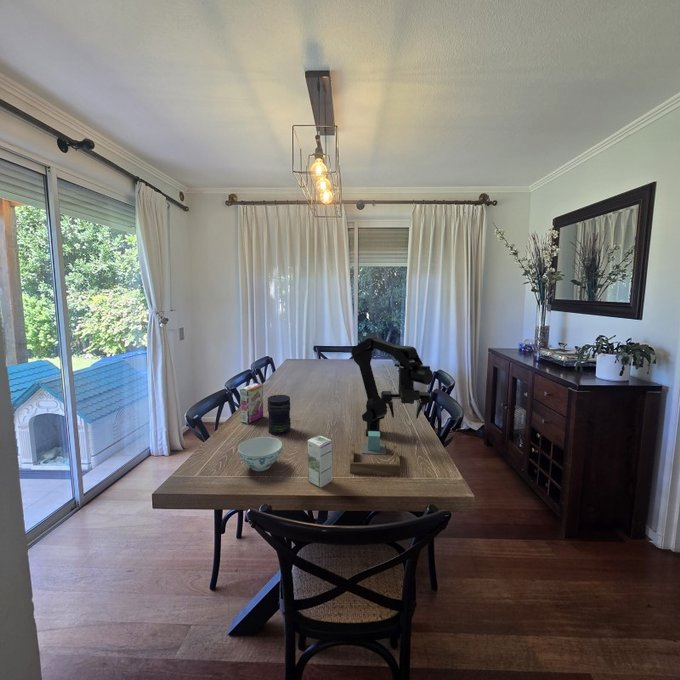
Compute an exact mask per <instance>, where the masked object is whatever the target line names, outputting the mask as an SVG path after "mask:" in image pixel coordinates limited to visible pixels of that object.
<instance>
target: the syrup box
mask: <svg viewBox="0 0 680 680" xmlns="http://www.w3.org/2000/svg"><path fill="white" fill-rule="evenodd" d="M332 441H333V440H332V439H330V438H327V437H325V436H322V435H319V434H318V435H316V436H314V437H313V436H312V437H311V438H310V439H307V473H308V474H307V475H308V476H307V480H308V481H307V482H308V483H311V484H313V485H314V486H316V487H318V488H320V489H321V488H323V487H325V486H327V485H328V484H330V483H331V482H332V481H333V475H332V474H333V471H332V469H333V468H332V466H333V465H332V461H333V459H332V458H333V457H332V452H333V451H332V449H333V448H332Z"/></svg>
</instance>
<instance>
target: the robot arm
mask: <svg viewBox="0 0 680 680" xmlns="http://www.w3.org/2000/svg"><path fill="white" fill-rule="evenodd" d="M375 350H376V351H377V350H378V351H380V352H382V353H385V354H387V355H391V356H392V357H393V359H394V360H396V361H397V362H396V363H395V364H394V367H397V368H398V387H397V388H398V392H397V393H392V391H391V390H382V391H381V393H380V395H379V391H378V388H377V384H376V380H375V376H374V373H373V369H372V365H371V362H372V357H373V355H372V352H374V351H375ZM350 353H351V356H352V359H353V361H354V363H355V364H356V365H358V367H359V370H360V371H359V372H360V375H361V379H362V382H363V385H364V386H363V387H364V390H365V393H366V398H367V400H366V404H365V408H366V410H365V412H364V413H363V414H361V418H362V421H364V422H366V428H365V436H366V437H368V431H379V432H380V437H381V436H382V431H381V420H384V419H385V417H386V415H387V413H388V408H389V410H390V413H391V417H392V419H394V418H395V417H394V416H395V415H394V403H393V400H396V399H397V400H400V403H402V404H403V405H405V404H410V405H414V403H415V401H417V402H416V410H415V411H416V412H415V418H416V419H418V418H419V417H420V413H421V411H422V409H423V408H424V406H428V404H431V403H432V396H431V395H430V393H429V392H428V391H420V390H417V389H415V388H414V383H418V384H420V385H421V384H422V385H425V386H429V385H430V384H431V383H432V382H433V379H434V374H433V371H432V369H431V366H429V365H424V364H423V361H422V360H421V358H420V356H419V354H418V352H417V349H416V348H415V347H414V346H409V345H398V344H395V343H392V342H390V341H386V340H384V339H381V338H379V337H377V336H371V337H368V338H366V339H365V340H364V341H362V342H360V343H359V344H356V345H354V346H353V347H352V349H351V351H350ZM387 405H388V406H387Z"/></svg>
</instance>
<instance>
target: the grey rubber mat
mask: <svg viewBox="0 0 680 680" xmlns="http://www.w3.org/2000/svg"><path fill="white" fill-rule="evenodd" d="M361 444H362V447H361V449H362V450H361V451H362V452H361V454H362V455H377V456H378V455H380V456H381V455H383V456H386V455H387V452H386V450H387V449H386V444H385V443H381V442H380V451H368V442H362V443H361Z"/></svg>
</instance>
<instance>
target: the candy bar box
mask: <svg viewBox="0 0 680 680" xmlns="http://www.w3.org/2000/svg"><path fill="white" fill-rule="evenodd" d="M239 397H240V398H239V401H240V408H239V409H240V422H241V423H243V424H246V425H249V424H252V423H253V422H255V421H257V420H259V419H261V418H263V417H264V384H263V383H257V382H256V383H252V384H250V385H249V384H248V385H247V386H243V387H241V388H239Z"/></svg>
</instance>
